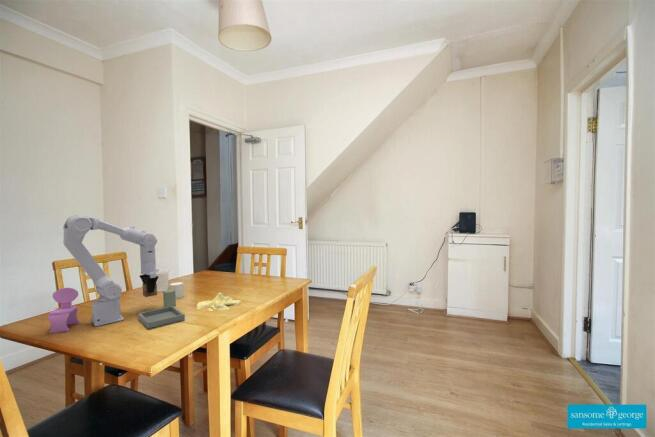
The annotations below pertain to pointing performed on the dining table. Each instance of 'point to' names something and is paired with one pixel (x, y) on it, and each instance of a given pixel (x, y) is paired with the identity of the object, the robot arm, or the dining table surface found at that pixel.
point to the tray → (161, 317)
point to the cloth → (218, 303)
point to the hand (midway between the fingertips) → (149, 291)
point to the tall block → (169, 298)
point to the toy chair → (63, 310)
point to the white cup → (162, 281)
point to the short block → (147, 291)
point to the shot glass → (177, 289)
